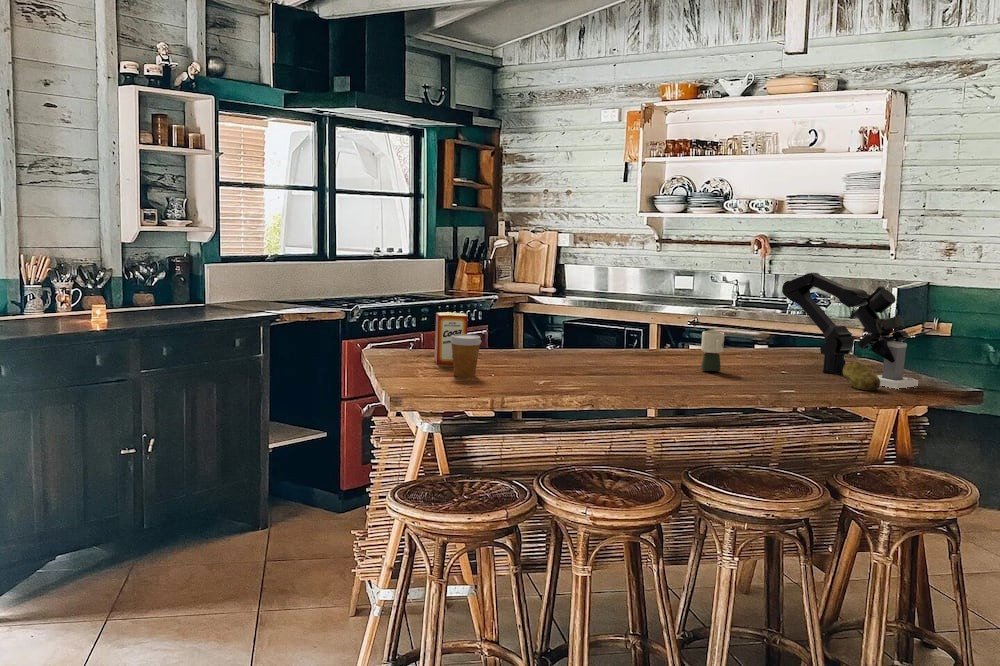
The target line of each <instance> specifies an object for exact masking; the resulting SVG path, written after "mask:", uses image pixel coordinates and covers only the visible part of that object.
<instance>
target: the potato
mask: <svg viewBox="0 0 1000 666" xmlns="http://www.w3.org/2000/svg"><path fill="white" fill-rule="evenodd" d="M842 375H843V377H844V378H845V380H846V381H847V382H848V383H849V384H850V385H851V386H852V387H853V388H855V389H857V390H861V391H862V390H863V391H872V392H873V391H874V390H877V389H879V387H881V386H880V379H879V378H878V377H877V375H878V374H876V373H875V372H874V371H873V370H872V369H871V368H869V367H868V366H867V365H866V364H865V363H863V362H862V361H858V360H850V361H848V362H846V364H845V365H844V367H843V374H842Z"/></svg>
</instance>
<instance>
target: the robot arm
mask: <svg viewBox="0 0 1000 666" xmlns="http://www.w3.org/2000/svg"><path fill="white" fill-rule="evenodd" d="M813 288H817V289H818V290H822V291H823V292H825V293H827V294H829V295H831V296H834V297H836V298H837V299H838V301H839V302H840V303H841V304H842V305H845V306H846V307H847V308H857V309H856V310H854V309H853V310H851V314H850V316H849V319H851V320H855V319H857V320H858V321H859V323H861V325H862V327H863V329H862V331H863V333H866V334H865V335H864V336H863V337H862V338H861V339H859V341H858V346H859V348H860V349H861V350H867V349H868V348H869V345H870V346H871V347H870V348H869V351H870V352H873V353H875V354H877V355H879V356H880V357H882V358H883V359H884V358H885V359H887V360H888V361H890V362H892V363H893V362H894V361H895V360H894V358H893V355H892V354H891V352H890V350H889V348H888V346H887V342H890V341H896V342H902V343H903V341H905V340H906V339H907V338H908V337H909V334H908V333H907V331H906V330H895V329H897V328H903V327H904V324H905V319H904V318H903V317H902V315H900V314H899V315H895V316H893V317H890V318H886V319H885V318H881V317H880V316H879V314H882V313H884V312H885V311H886V310H888V308H890V307H891V306H892V305H893V304H894V303H895V302H896V301H897V300H896V297H895V295H894V294H893V293H892V292H890V290H888V289H886V288H885V287H884V286H878V287H877V288H876V289H875V291H874V292H873V293H871V294H870V293H869V294H868V292H867V291H866V290H864V289H861V288H858V287H857V288H856V287H852V286H846V285H844V284H841V283H839V282H837V281H835V280H833V279H830V278H828V277H825V276H823V275H821V274H820V273H818V272H807V273H805V274H804V275H801V276H798V277H796V278H794V279H791V280H786V281H784V283H783V285H782V288H781V292H782V295H783V296H785V298H787V299H788V300H789V301H791V302H793V303H795V304H797V305H799V307H800V308H801V309H802V310H803V311H804V313H805V314H806V315H807V316H808V317H809V318H810V320H811V321H812V322H813V323H814V324H815V326H817V328H818V329H819V330H820V332H822V334H823V337H824V338H823V339H824V342H825V343H824V344H823V345H821V347H820V348H819V349H820V353H821V355H824V358H823V359H824V360H823V367H822V368H823V369H822V371H821V372H822V373H827V374H835V375H843V367H844V365H845V364H846V363H847V359H846V357H845V356H846V355H847V356H848V355H849V354H850V352H851V349H853V347H854V344H855V343H854V342H855V339H854V337H853V332H851V331H849V330H848V328H847V326H845V325H836V324H835V323H834V322H833V320H831V318H830V317H829V315H828V314H826V312H825V311H824V310H823V309H822V308H821V307H820V306H819V304H818V303H817V302H816V301H815V300H814V299H813V297H812V295H811V290H812V289H813ZM878 313H879V314H878Z"/></svg>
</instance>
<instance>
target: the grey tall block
mask: <svg viewBox="0 0 1000 666" xmlns="http://www.w3.org/2000/svg"><path fill="white" fill-rule="evenodd" d="M887 346H888V348H889V350H890V352H891V354H892V355H893V358H894V360H895V361H894V362H893V363H892V362H890V361H888V360H887V359H885V358H883V365H882V373H881V375H882V378H885V379H890V380H895V381H896V380H903V377H904V372H905V371H904V369H905V363H906V362H905V361H906V354H907V353H906V351H907V347H908V343H906V342H903V341H902V342H896V341H890V342H887Z"/></svg>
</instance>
